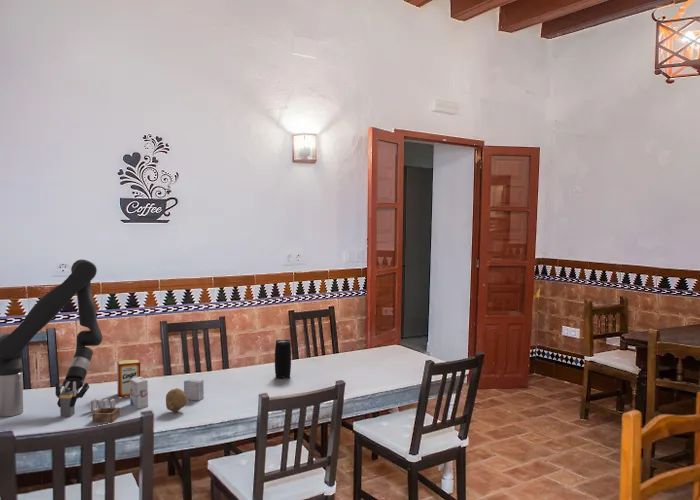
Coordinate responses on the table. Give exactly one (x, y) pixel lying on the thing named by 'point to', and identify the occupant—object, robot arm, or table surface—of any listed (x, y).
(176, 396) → the natural sponge
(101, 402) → the clip
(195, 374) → the table surface
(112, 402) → the clip
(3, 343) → the robot arm
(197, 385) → the medicine box
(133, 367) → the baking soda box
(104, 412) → the open wooden box
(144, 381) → the ink box
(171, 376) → the table surface
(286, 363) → the portable speaker
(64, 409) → the gray square bottle
